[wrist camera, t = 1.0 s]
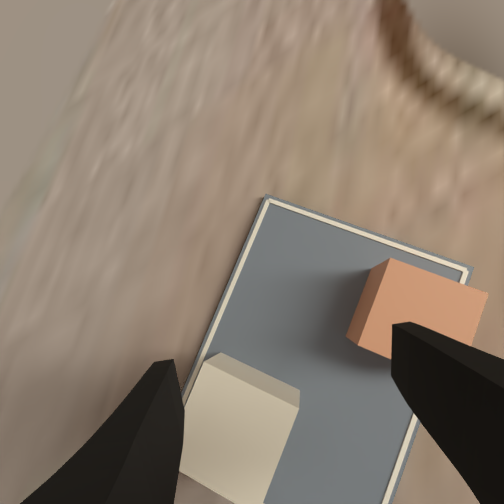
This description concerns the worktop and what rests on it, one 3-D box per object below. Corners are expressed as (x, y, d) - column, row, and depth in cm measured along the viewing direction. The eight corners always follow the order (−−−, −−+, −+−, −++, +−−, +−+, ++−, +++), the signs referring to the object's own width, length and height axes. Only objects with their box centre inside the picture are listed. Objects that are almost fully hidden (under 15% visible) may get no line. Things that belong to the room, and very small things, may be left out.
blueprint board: (469, 268, 22) (512, 258, 17) (365, 565, 20) (383, 641, 15) (266, 196, 25) (258, 172, 20) (160, 447, 23) (125, 482, 18)
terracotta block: (446, 296, 21) (488, 293, 16) (420, 368, 21) (456, 387, 16) (371, 268, 22) (390, 257, 17) (345, 336, 22) (357, 345, 17)
